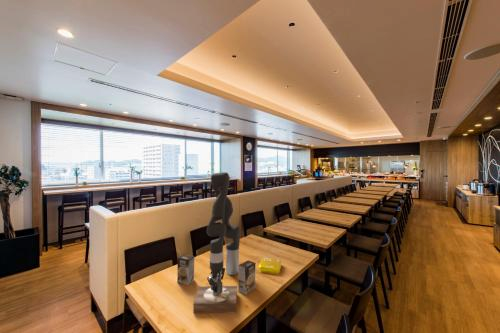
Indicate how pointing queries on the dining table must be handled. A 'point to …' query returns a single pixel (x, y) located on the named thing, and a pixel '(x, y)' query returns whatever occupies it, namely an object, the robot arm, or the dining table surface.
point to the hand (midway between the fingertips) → (216, 289)
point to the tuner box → (215, 300)
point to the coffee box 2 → (246, 277)
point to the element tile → (270, 266)
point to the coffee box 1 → (185, 269)
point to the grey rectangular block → (218, 289)
